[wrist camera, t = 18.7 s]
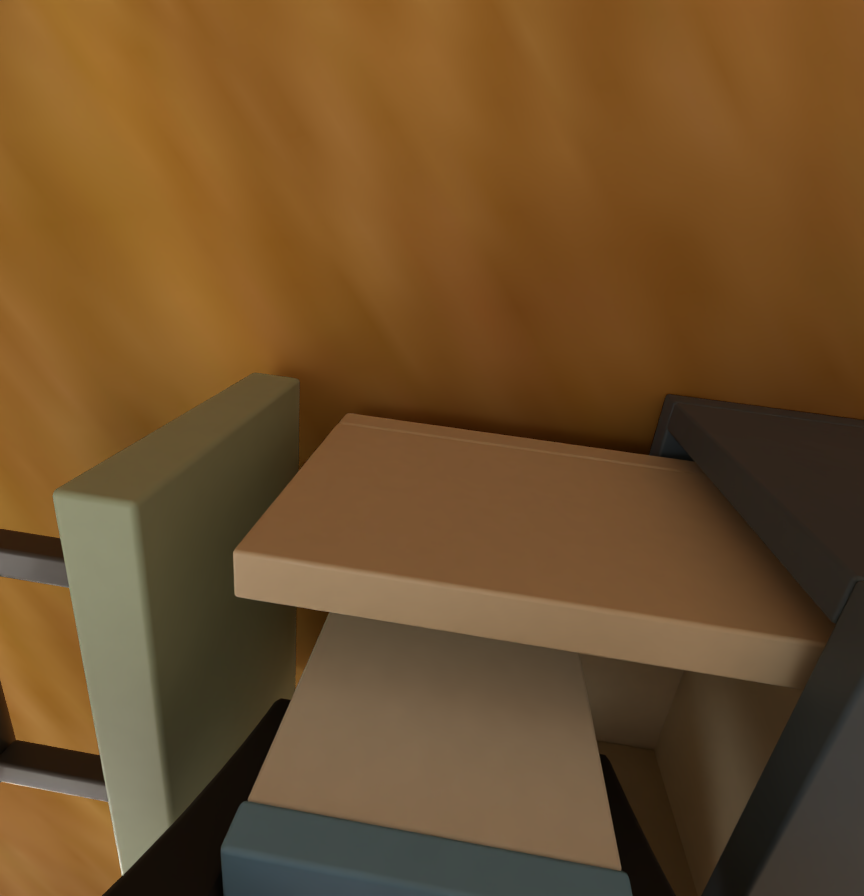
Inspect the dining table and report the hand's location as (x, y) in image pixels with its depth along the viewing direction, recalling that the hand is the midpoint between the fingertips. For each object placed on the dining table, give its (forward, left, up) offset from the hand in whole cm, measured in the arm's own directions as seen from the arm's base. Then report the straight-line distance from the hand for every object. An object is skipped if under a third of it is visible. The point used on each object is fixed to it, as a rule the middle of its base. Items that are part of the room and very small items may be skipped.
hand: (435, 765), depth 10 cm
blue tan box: (0, 0, -1) cm, 1 cm away
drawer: (-2, 0, -6) cm, 6 cm away
